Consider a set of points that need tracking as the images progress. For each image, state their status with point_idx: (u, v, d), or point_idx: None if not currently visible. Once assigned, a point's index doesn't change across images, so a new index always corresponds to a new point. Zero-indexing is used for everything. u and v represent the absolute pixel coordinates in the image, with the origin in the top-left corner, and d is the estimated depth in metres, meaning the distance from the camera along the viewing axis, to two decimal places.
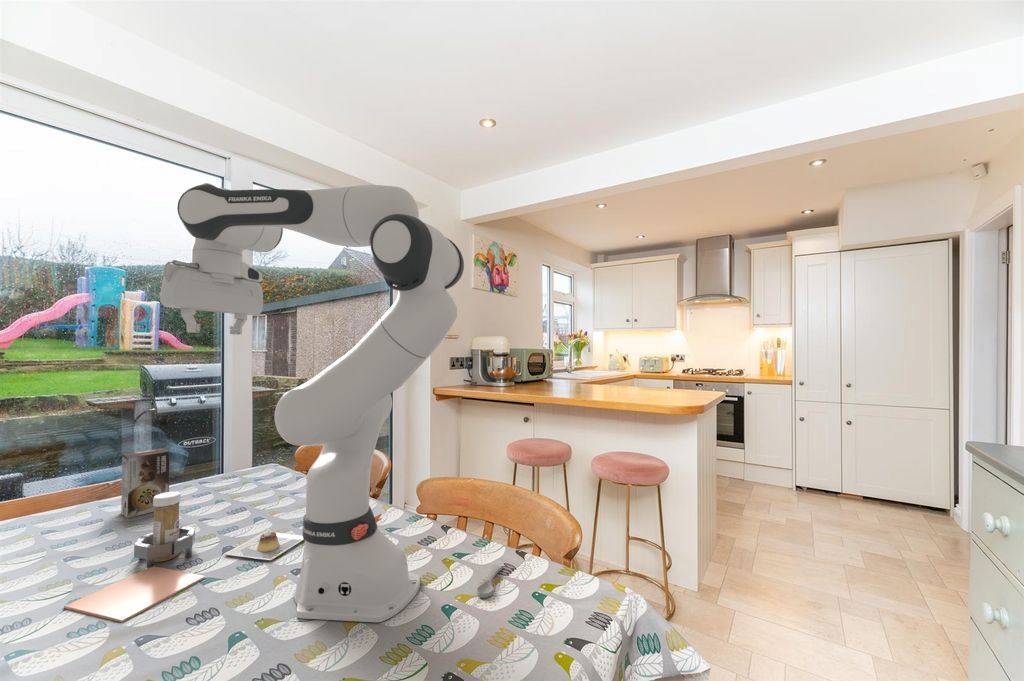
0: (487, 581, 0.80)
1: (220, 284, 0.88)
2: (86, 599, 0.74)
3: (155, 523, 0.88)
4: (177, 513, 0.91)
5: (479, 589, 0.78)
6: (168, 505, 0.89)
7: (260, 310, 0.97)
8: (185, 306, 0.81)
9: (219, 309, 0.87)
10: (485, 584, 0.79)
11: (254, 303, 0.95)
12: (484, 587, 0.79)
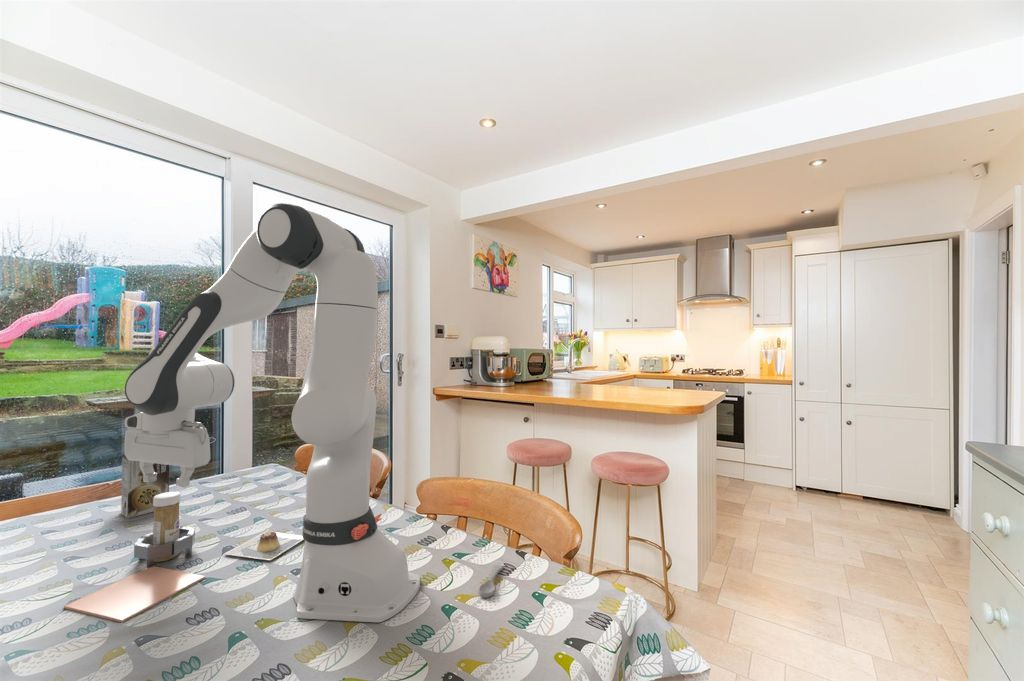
0: (489, 581, 0.80)
1: None
2: (86, 599, 0.74)
3: (155, 523, 0.88)
4: (177, 513, 0.91)
5: (481, 589, 0.78)
6: (168, 505, 0.89)
7: None
8: None
9: None
10: (487, 584, 0.80)
11: None
12: (485, 587, 0.79)
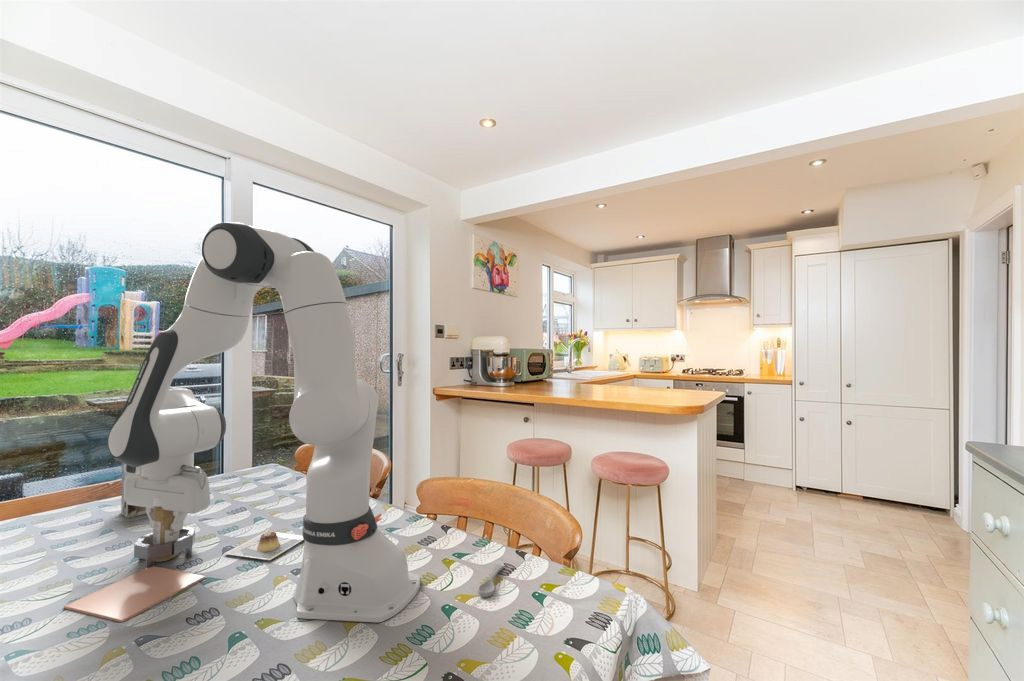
0: (488, 580, 0.80)
1: None
2: (86, 599, 0.74)
3: (155, 523, 0.88)
4: None
5: (481, 588, 0.78)
6: None
7: None
8: None
9: None
10: (487, 583, 0.80)
11: None
12: (485, 587, 0.79)
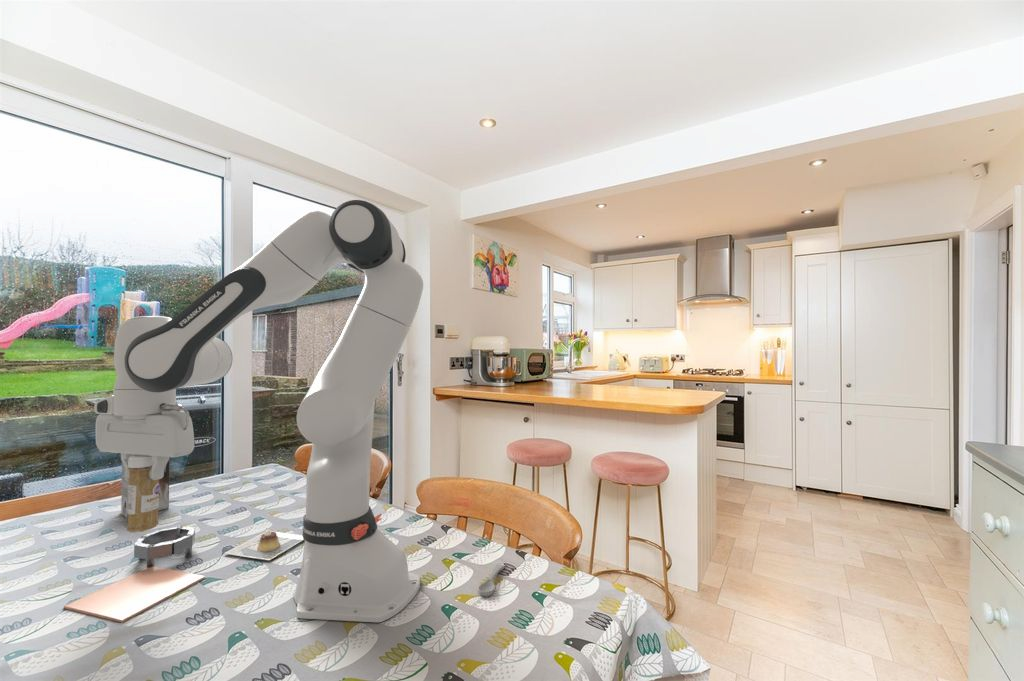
0: (489, 580, 0.80)
1: None
2: (86, 599, 0.74)
3: (130, 487, 0.76)
4: None
5: (481, 588, 0.78)
6: (145, 466, 0.77)
7: None
8: None
9: None
10: (487, 583, 0.80)
11: None
12: (485, 586, 0.79)
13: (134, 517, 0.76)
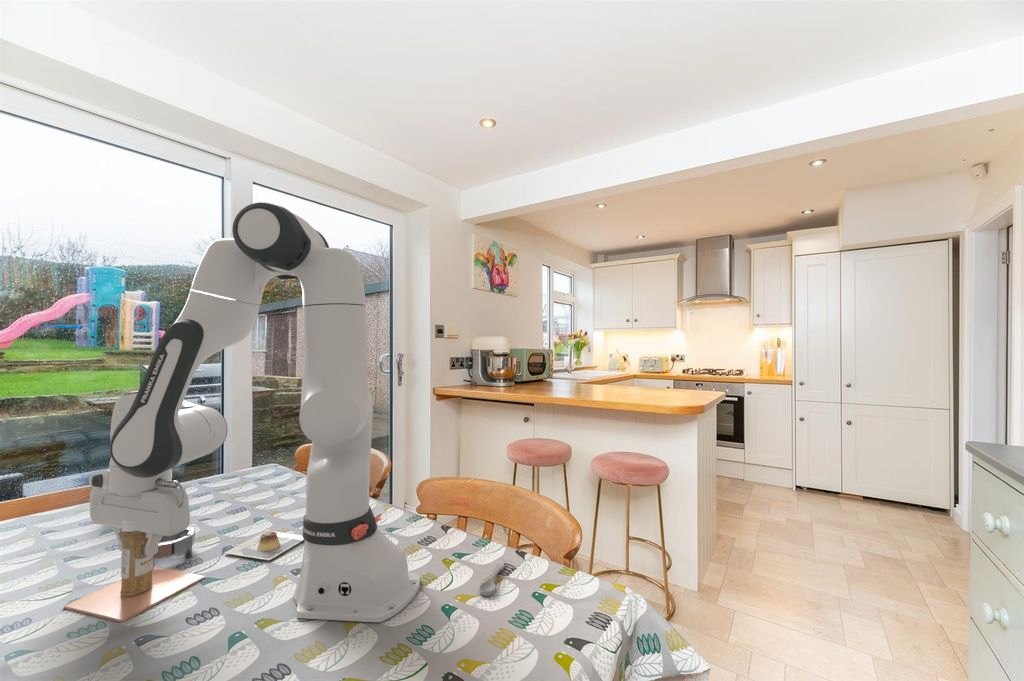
0: (489, 579, 0.80)
1: None
2: (86, 599, 0.74)
3: (124, 551, 0.75)
4: None
5: (481, 587, 0.79)
6: None
7: None
8: None
9: None
10: (488, 583, 0.80)
11: None
12: (486, 586, 0.79)
13: (128, 581, 0.75)
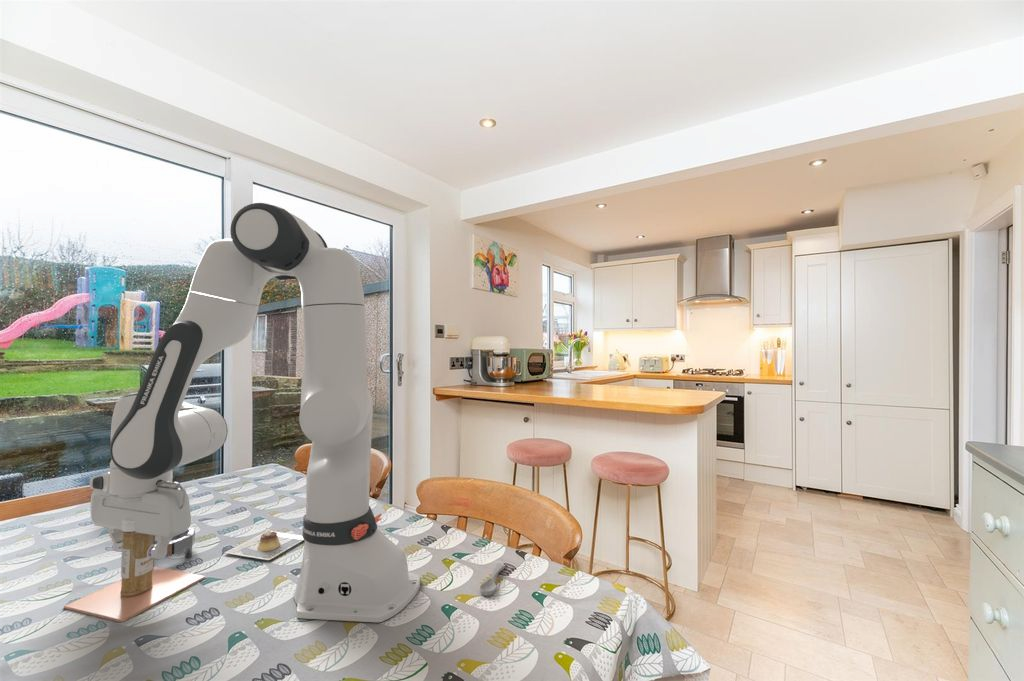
0: (490, 579, 0.80)
1: None
2: (86, 599, 0.74)
3: (124, 551, 0.75)
4: (150, 538, 0.78)
5: (482, 587, 0.79)
6: None
7: None
8: None
9: None
10: (488, 582, 0.80)
11: None
12: (486, 585, 0.80)
13: (128, 581, 0.75)
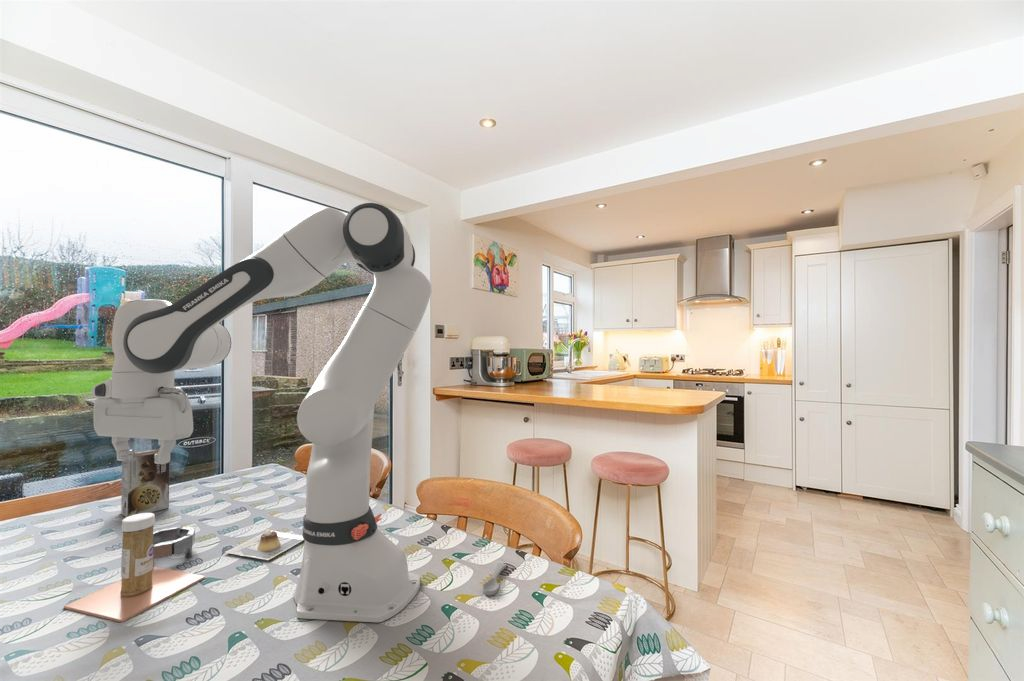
0: (492, 579, 0.81)
1: None
2: (86, 599, 0.74)
3: (124, 551, 0.75)
4: (150, 538, 0.78)
5: (484, 587, 0.79)
6: (139, 530, 0.76)
7: None
8: None
9: None
10: (491, 582, 0.80)
11: None
12: (489, 585, 0.80)
13: (128, 581, 0.75)
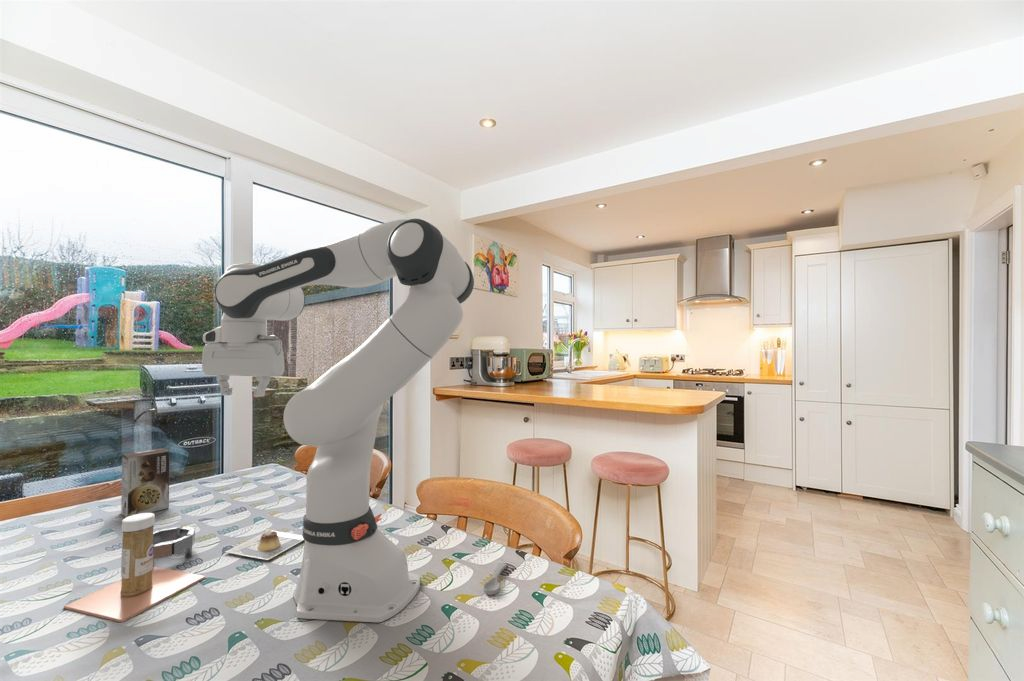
0: (493, 578, 0.81)
1: None
2: (86, 599, 0.74)
3: (124, 551, 0.75)
4: (150, 538, 0.78)
5: (486, 586, 0.79)
6: (139, 530, 0.76)
7: None
8: None
9: None
10: (492, 582, 0.80)
11: None
12: (490, 585, 0.80)
13: (128, 581, 0.75)
